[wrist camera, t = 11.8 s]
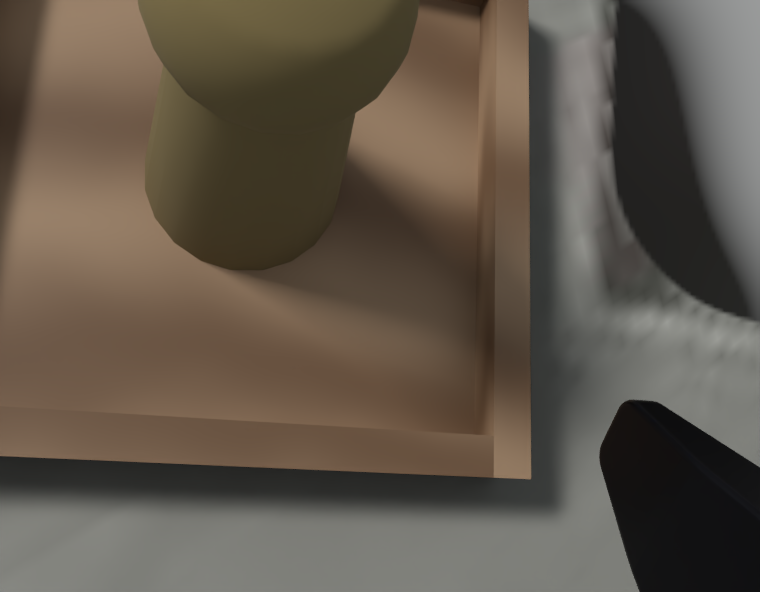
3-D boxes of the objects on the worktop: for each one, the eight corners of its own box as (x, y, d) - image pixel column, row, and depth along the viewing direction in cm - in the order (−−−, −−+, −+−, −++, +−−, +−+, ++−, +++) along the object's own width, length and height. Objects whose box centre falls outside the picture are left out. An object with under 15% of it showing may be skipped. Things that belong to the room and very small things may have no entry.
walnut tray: (495, 476, 23) (531, 479, 20) (-128, 448, 18) (-174, 448, 16) (498, 2, 27) (528, -41, 25) (-7, -112, 23) (-30, -178, 20)
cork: (282, 64, 23) (359, -258, 13) (372, 221, 22) (527, 22, 12) (107, 131, 21) (26, -186, 10) (202, 305, 20) (215, 153, 10)
